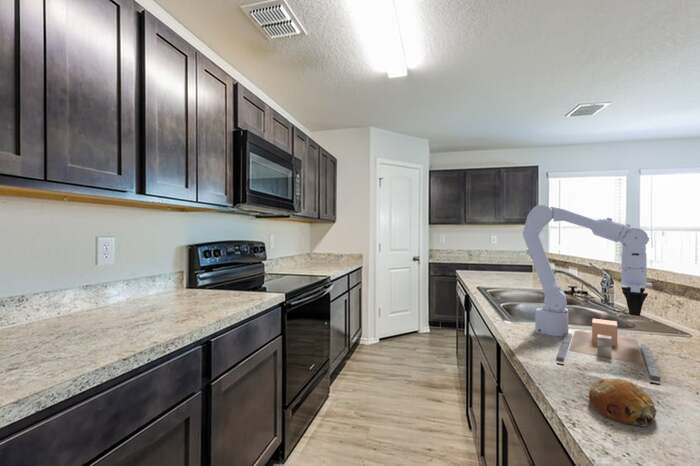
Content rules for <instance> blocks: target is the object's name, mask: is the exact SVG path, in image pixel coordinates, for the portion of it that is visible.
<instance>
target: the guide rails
mask: <svg viewBox="0 0 700 466" xmlns="http://www.w3.org/2000/svg"><path fill="white" fill-rule="evenodd" d="M572 338H573V334H572V333H569V332H568V333H566V334H565V336H563V339H562V341H561V345H560V347H559V350H558V353H557V354H556V358H555V359H556V361H560V362H564V361H565V358H566V356H567V352H568V351H569V350H568V349H569V348H570V345H571V341H572ZM649 346H650V345H646V344H640V350H641V351H642V352H641V353H642V357H643V360H644V363H645V365H646V368H647V373H648V376H649V378H650V380H654V381H649V383H650V385H655V386H661V383H659V382H655V381H661V376H660V374H659V370H658V368H657V366H656V363H655V359H654V358H653V355H652V352H651V349H650V347H649ZM560 362H556V365H557V366H565V364H564V363H560Z"/></svg>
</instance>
